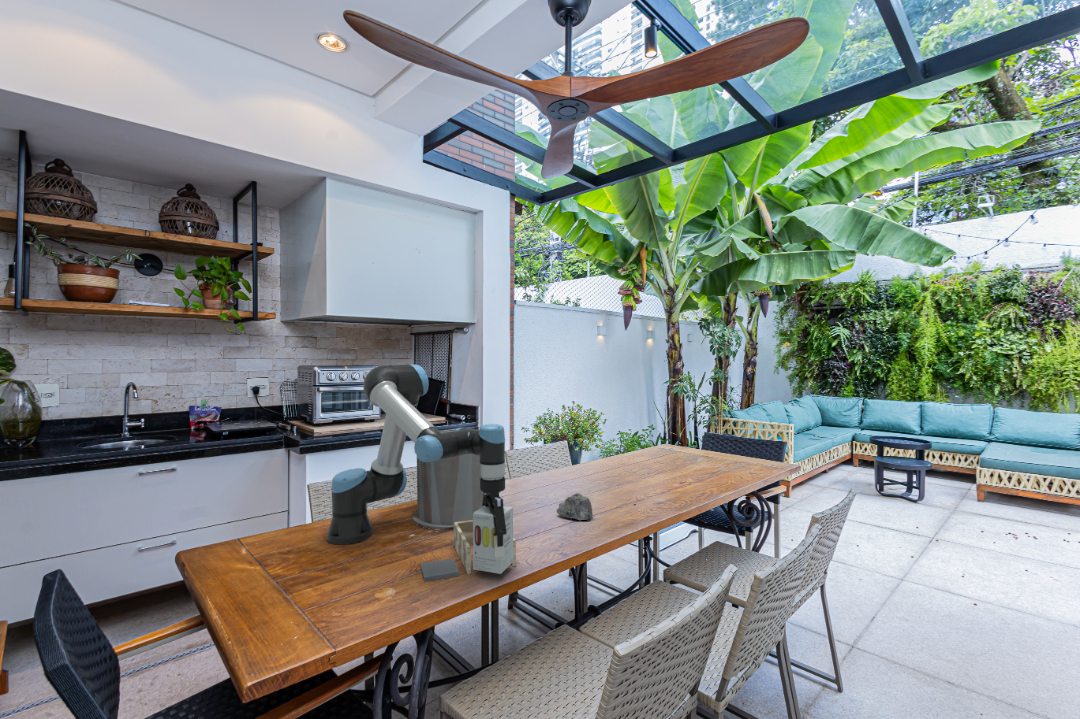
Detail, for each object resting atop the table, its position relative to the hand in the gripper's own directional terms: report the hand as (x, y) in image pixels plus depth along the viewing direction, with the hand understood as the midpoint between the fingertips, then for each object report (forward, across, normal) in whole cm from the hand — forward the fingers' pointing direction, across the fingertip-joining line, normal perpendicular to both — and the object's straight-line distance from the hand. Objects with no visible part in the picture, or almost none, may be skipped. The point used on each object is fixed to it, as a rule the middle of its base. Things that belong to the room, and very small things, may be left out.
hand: (493, 548), depth 145 cm
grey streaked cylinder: (+7, +55, +1) cm, 56 cm away
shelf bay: (+7, +13, 0) cm, 15 cm away
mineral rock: (+8, +34, -43) cm, 55 cm away
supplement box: (+5, 0, 0) cm, 5 cm away
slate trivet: (+7, +6, +15) cm, 18 cm away
